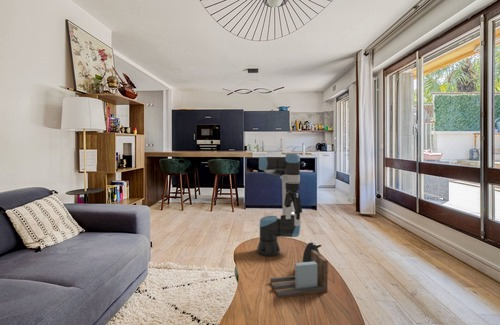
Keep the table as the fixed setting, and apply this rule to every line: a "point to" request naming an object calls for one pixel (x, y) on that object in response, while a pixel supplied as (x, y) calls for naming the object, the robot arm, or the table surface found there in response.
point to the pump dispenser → (309, 251)
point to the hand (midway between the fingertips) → (292, 222)
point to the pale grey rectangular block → (305, 275)
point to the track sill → (287, 288)
